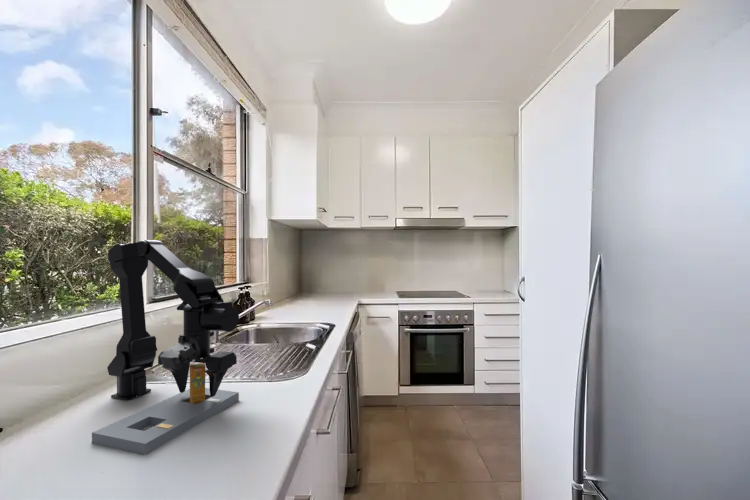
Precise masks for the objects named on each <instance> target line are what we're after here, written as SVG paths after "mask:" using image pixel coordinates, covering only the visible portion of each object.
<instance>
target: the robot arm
mask: <svg viewBox="0 0 750 500" xmlns="http://www.w3.org/2000/svg"><path fill="white" fill-rule="evenodd" d="M107 257H108V261H109V264H110V270H111V271H112V272H113V273H114V274H115V276H116V277H117V278H118V281H119V291H120V292H119V294H120V307H121V320H122V335H121V337H120V339H119V341H118V342H117V345H116V347H115V348H116V353H115V356H114V358H112V360H111V362H110V363H109V364H108V365H107V367H106V369H107V373H108V375H109V376H111V377H116V393H114V394H112V395H110V398H112V399H117V400H125V401H130V400H132V399H135V398H138V397H140V396H143V395H146V394H147V393H149V392H152V388H147V374H146V373H147V372H146V369H149V368H152V367H153V366H154V363H155V359H156V356H157V352H158V347H157V338H156V336H155V335H151V334H150V333H149V331H147V324H146V313H145V299H144V298H145V296H144V287H143V276H144V274H145V272H146V270H147V269H148V266H149V262H150V263H151V264H153V265H154V267H156V268H157V269H158V270H159V271H160V272H161V273H162V274H164V276H166V278H168V279H169V280H170V281H171V282H172V287H173V291H174V292H175V294H176V295H177V296H178V297H179V298H180V300H181V301H182V302H181V303H180V304H179V305H178V306H177V307H176V310H177V311H183V334H179V337H178V338H177V339H178V342H177V343H176V344H174V345H171V346H170V347H169V348H168V349H167V350H164V351H161V352H160V353H159V354H158V357H157V365H162V366H161V367H162V368H163V369H166V370H168V371H169V372H170V373H171V374H172V377H173V378H174V380H175V381H174V382H175V383H176V386H177V388H178V390H179V393H183V392H185V391H186V390H187V389H186V388H187V385H188V384H187V383H188V378H189V374H190V365H191V363H198V364H201V363H204V364H205V368H206V369H207V370H206V369H205V374H207V375H208V378H209V379H208V382H209V383H208V384H209V388H210V396H211V397H213V396H215V395H216V392H217V390H219V389H220V386H221V383H222V381H223V380H224V377H225V375H226V373H227V372H228V370H229V369H230V368H232V367H233V366H234V365H236V364H237V362H238V361H237V354H236V353H235V352H232V351H224V350H223V351H220V352H217V353H215V347H211V337H214V336H215V332H226V333H231V332H233V331H234V330H236V328H237V326H238V324H239V320H240V315H239V313H238V310H237V308H235V307H233V302H232V301H224V299H223V297H222V295H221V293H220V292H219V290H218V289H217V287H216V285H215V282H214V280H213V279H212V277H210V276H208V275H207V274H205V273H203V272H201V271H198V270H195V269H192V268H190V267H189V266H188V265H186V264H185V263H184V262H183V261H182V260H181V259H180V258H178V257H177V256H176V255H175V253H173V252H172V251H170V250H169V248H167V247H166V246H165V244H164V242H163V241H160V240H155V239H154V240H153V239H151V240H150V239H143V240H140V241H137V242H132V243H131V242H130V243H126V244H124V243H116V244H114V245H113V246H112V247H111V248H110V249H109V250H108V253H107ZM213 353H215V354H213Z"/></svg>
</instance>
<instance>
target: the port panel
mask: <svg viewBox="0 0 750 500" xmlns="http://www.w3.org/2000/svg"><path fill="white" fill-rule="evenodd" d="M239 393H240V392H239V391H231V390H223V389H218V390H217V392H216V395H215V396H213V397H211V396H210V387H205V400H204V401H202V402H200V403H199V404H194V403H190V388H188V389H185V392H183V393H180V392H179V393H177V394H175V395H173V396H170V397H168V398H166V399H164V400H161V401H159V402H157V403H155V404H152V405H150V406H148V407H146V408H144V409H141V410H139V411H137V412H135V413H133V414H130V415H128V416H126V417H124V418H121V419H119V420H117V421H115V422H112V423H110V424H107V425H106V426H104V427H101V428H99V429H97V430H95V431H92V432H91V444H95V445H99V446H104V447H109V448H111V449H112V448H113V449H117V450H122V451H127V452H131V453H136V454H140V455H148V454H149V453H151V452H152V451H154V450H157V449H158V448H159V447H161V446H163V445H165V444H167V443H168V442H170V441H171V440H173V439H175V438H176V437H178V436H180V435H182V434H184V433H185V432H187V431H189V430H191V429H192V428H194V427H195V426H197V425H199V424H201V423H202V422H204V421H206V420H208V419H210V418H211V417H213V416H215V415H216V414H217V413H219V412H221V411H223V410H225V409H227V408H228V407H230V406H232V405H233V404H235V403H236V402H238V401H239V400H240V394H239ZM148 427H150V428H148ZM146 428H148V429H146ZM144 429H146V430H144Z"/></svg>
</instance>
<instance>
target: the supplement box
mask: <svg viewBox="0 0 750 500" xmlns="http://www.w3.org/2000/svg"><path fill="white" fill-rule="evenodd" d="M205 371H206V366H205V363H195V364H194V363H193V364H190V367H189V389H190V403H194V404H199V403H200V402H202V401H204V400H205V388H206V372H205Z"/></svg>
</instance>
